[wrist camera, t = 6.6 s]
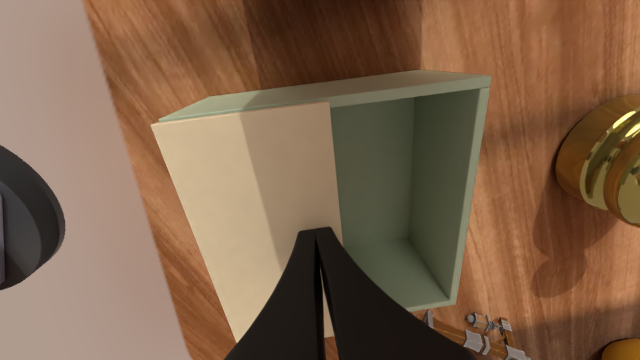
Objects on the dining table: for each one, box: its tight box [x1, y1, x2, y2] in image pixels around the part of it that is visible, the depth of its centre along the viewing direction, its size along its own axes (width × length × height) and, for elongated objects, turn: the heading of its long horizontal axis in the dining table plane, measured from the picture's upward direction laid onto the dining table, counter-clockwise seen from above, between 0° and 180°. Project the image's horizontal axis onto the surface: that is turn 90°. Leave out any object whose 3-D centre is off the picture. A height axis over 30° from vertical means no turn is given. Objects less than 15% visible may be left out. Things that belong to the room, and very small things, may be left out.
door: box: [151, 100, 343, 343], centre depth 11 cm, size 6×12×1 cm, turn 6°
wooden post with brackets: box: [423, 310, 531, 360], centre depth 23 cm, size 2×8×4 cm, turn 85°
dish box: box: [159, 70, 492, 312], centre depth 14 cm, size 12×12×6 cm
